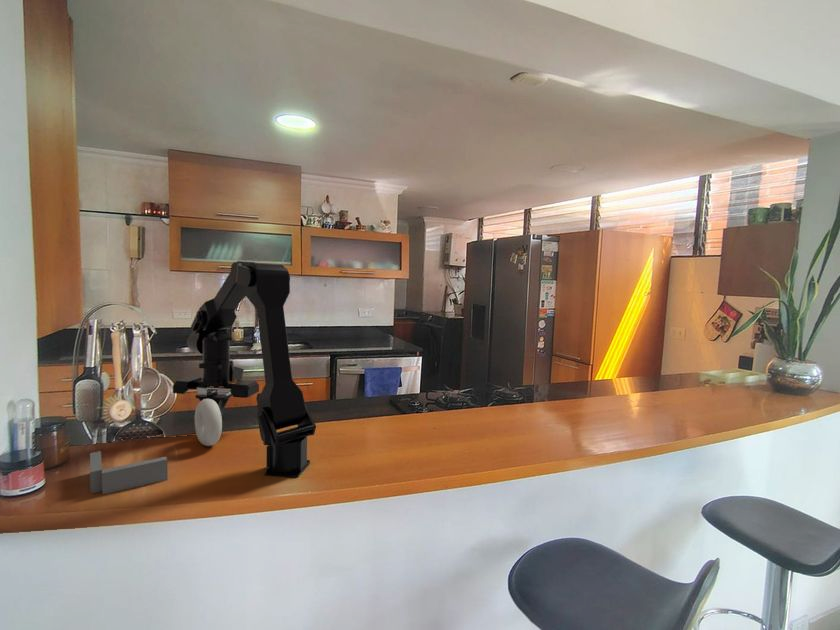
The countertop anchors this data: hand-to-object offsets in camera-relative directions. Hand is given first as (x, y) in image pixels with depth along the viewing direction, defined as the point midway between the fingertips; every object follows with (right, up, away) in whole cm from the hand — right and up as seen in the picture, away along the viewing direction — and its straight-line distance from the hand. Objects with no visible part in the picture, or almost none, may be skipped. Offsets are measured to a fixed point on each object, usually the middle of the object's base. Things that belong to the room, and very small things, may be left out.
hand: (216, 421), depth 97 cm
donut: (+3, -2, -10) cm, 11 cm away
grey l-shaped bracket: (-3, -3, -28) cm, 28 cm away
